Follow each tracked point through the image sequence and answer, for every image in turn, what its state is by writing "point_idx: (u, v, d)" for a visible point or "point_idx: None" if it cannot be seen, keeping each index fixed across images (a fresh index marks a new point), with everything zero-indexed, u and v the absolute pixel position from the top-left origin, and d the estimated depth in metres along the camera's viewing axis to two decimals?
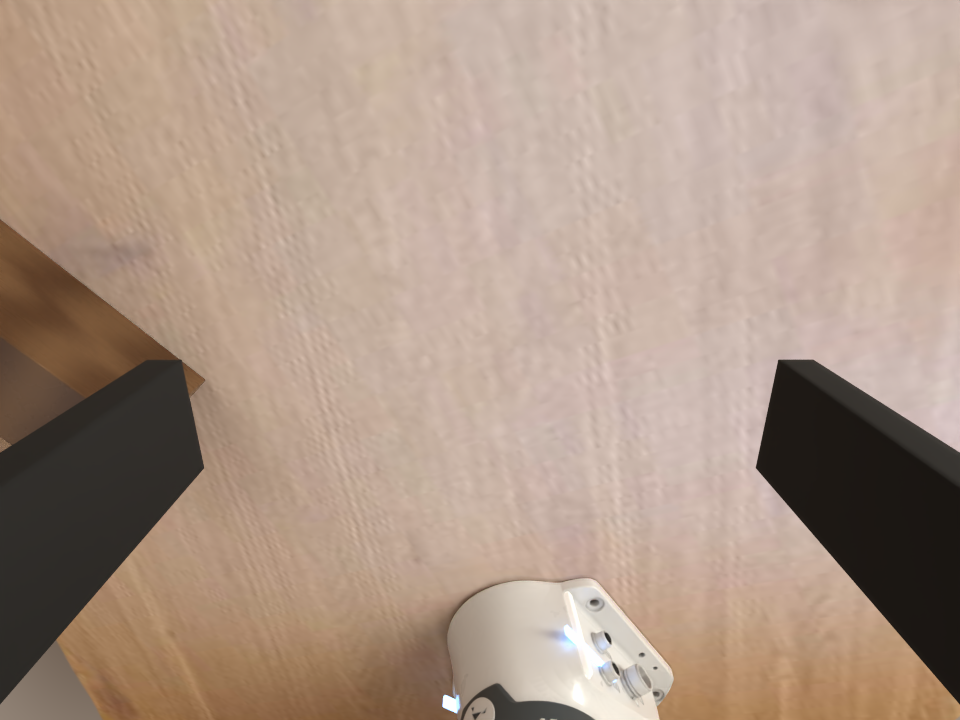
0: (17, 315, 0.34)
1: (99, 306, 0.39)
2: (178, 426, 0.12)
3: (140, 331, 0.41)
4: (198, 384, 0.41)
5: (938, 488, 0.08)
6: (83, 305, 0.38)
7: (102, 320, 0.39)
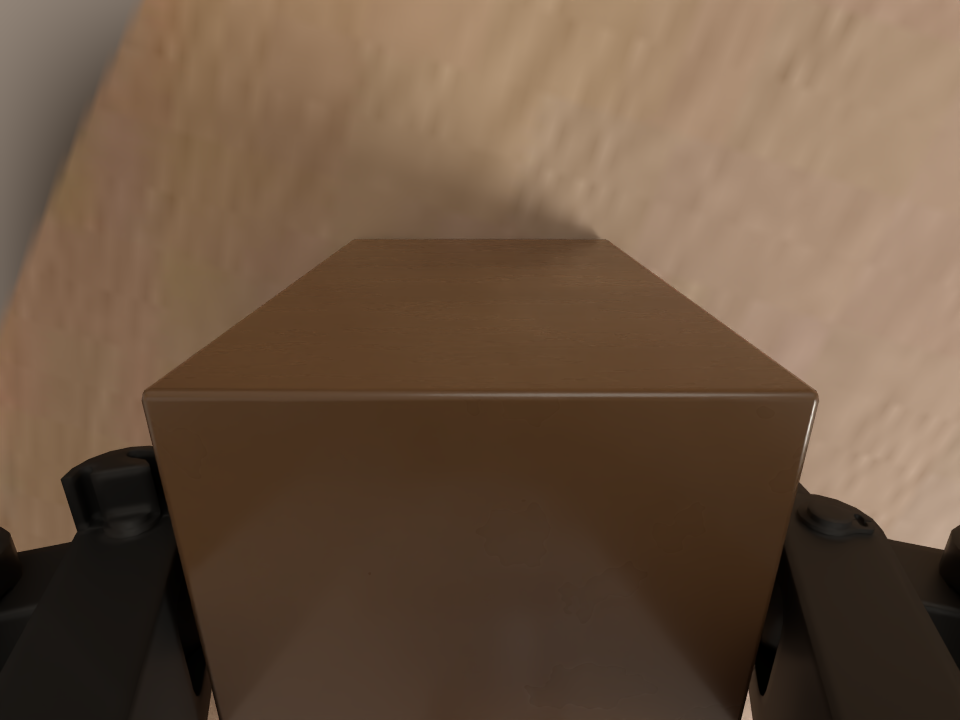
0: None
1: None
2: None
3: None
4: None
5: None
6: None
7: None
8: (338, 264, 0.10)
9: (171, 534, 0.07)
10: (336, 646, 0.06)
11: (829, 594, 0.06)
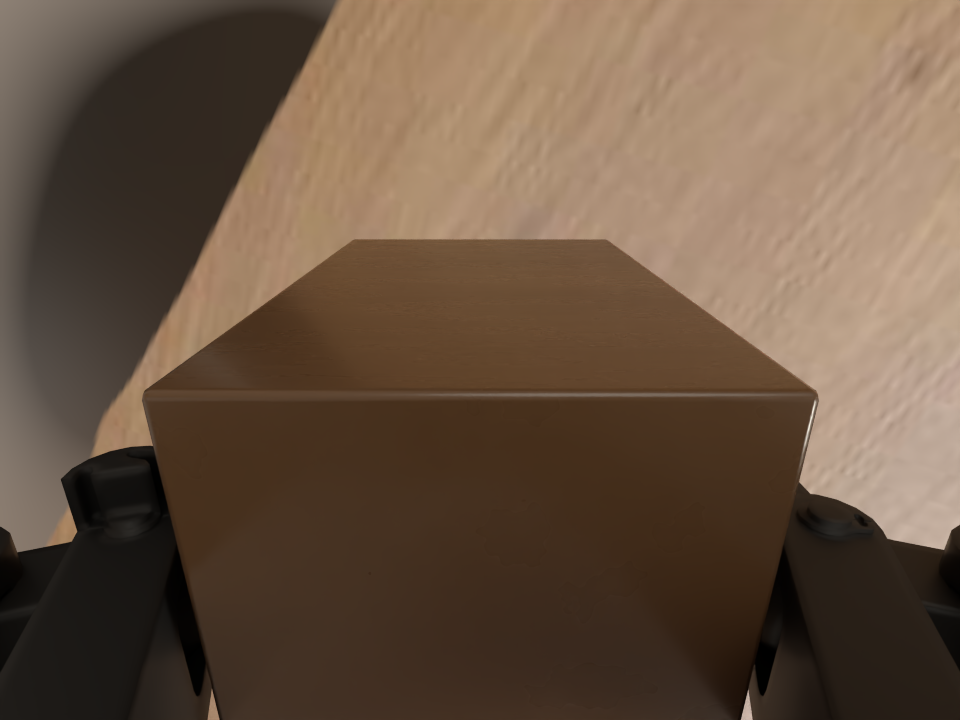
0: None
1: None
2: None
3: None
4: None
5: None
6: None
7: None
8: (338, 264, 0.10)
9: (171, 534, 0.07)
10: (337, 645, 0.06)
11: (829, 594, 0.06)
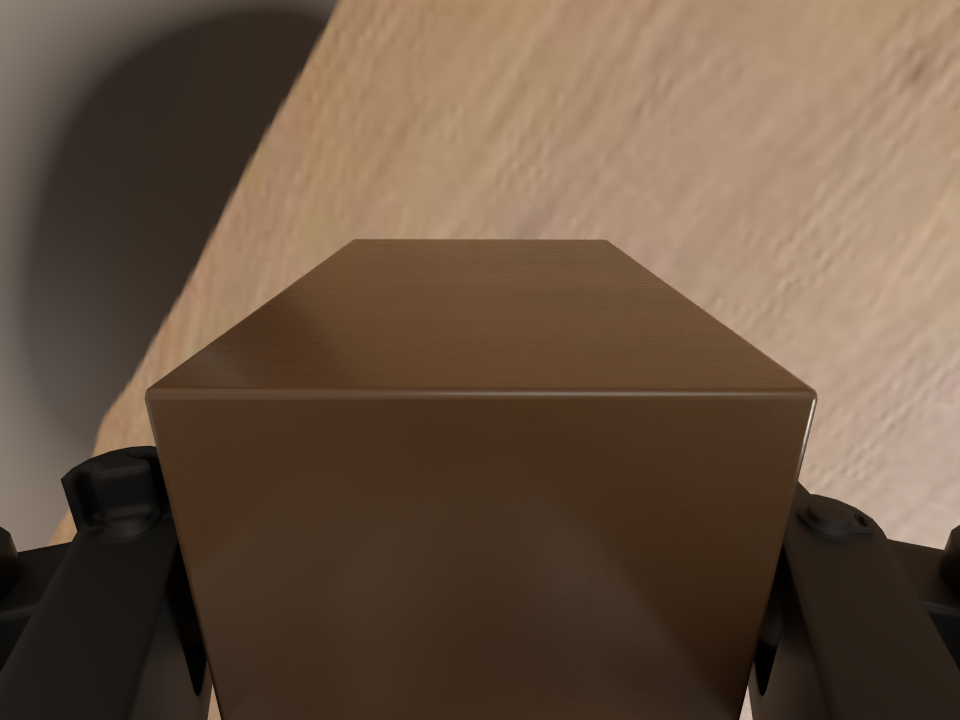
0: None
1: None
2: None
3: None
4: None
5: None
6: None
7: None
8: (339, 264, 0.10)
9: (171, 534, 0.07)
10: (338, 645, 0.06)
11: (829, 594, 0.06)
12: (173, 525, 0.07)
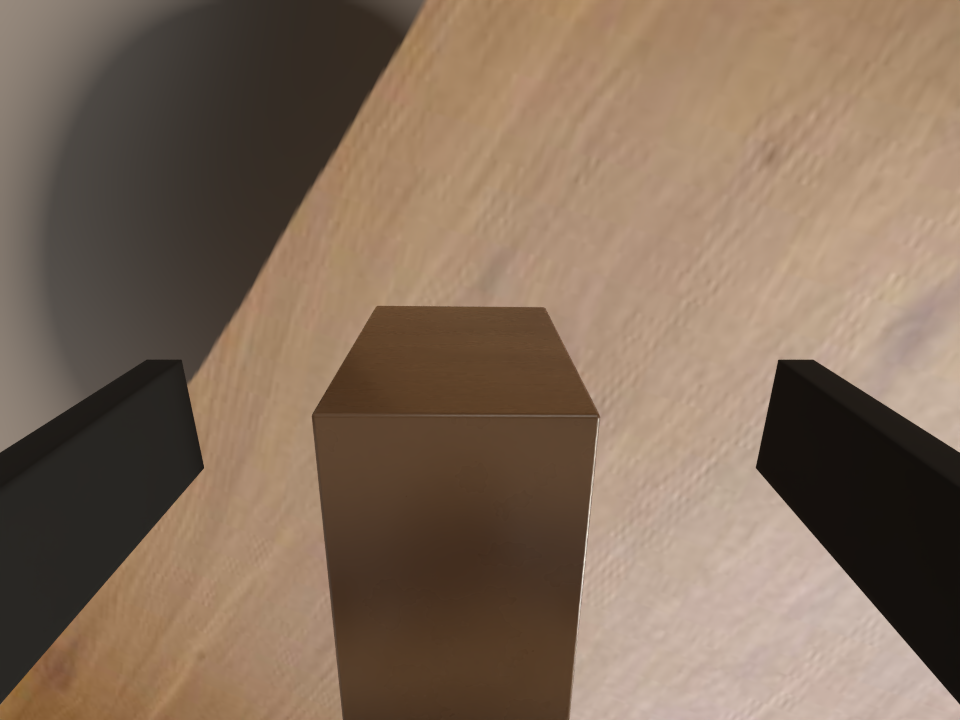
0: None
1: None
2: (178, 426, 0.12)
3: None
4: None
5: (938, 488, 0.08)
6: None
7: None
8: (374, 331, 0.17)
9: None
10: (389, 533, 0.13)
11: None
12: None
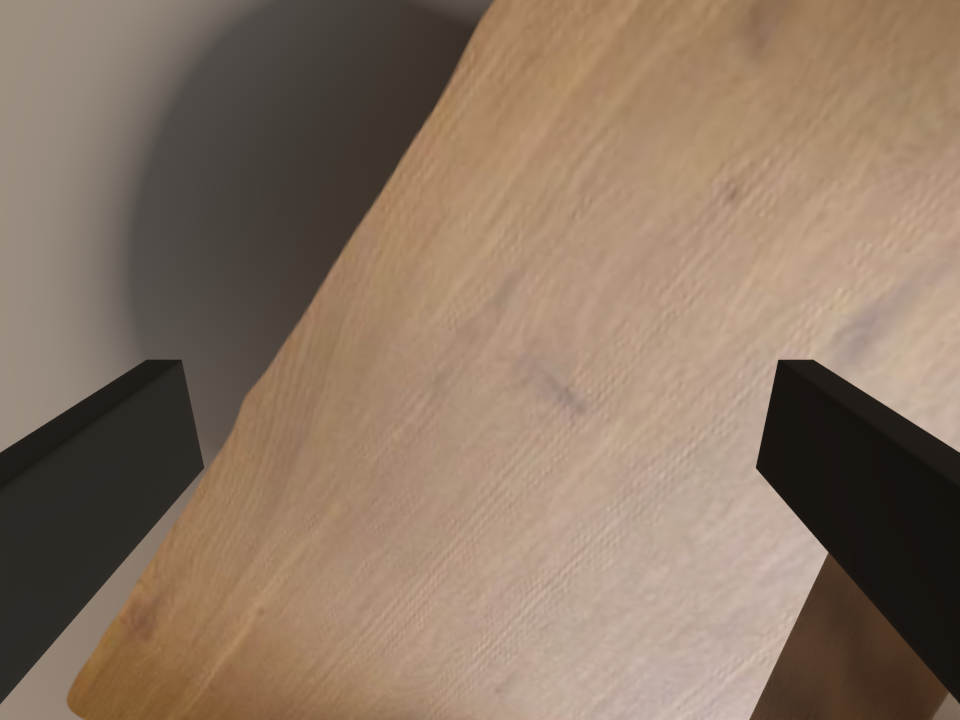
0: None
1: None
2: (178, 426, 0.12)
3: None
4: None
5: (938, 488, 0.08)
6: None
7: None
8: None
9: None
10: None
11: None
12: None
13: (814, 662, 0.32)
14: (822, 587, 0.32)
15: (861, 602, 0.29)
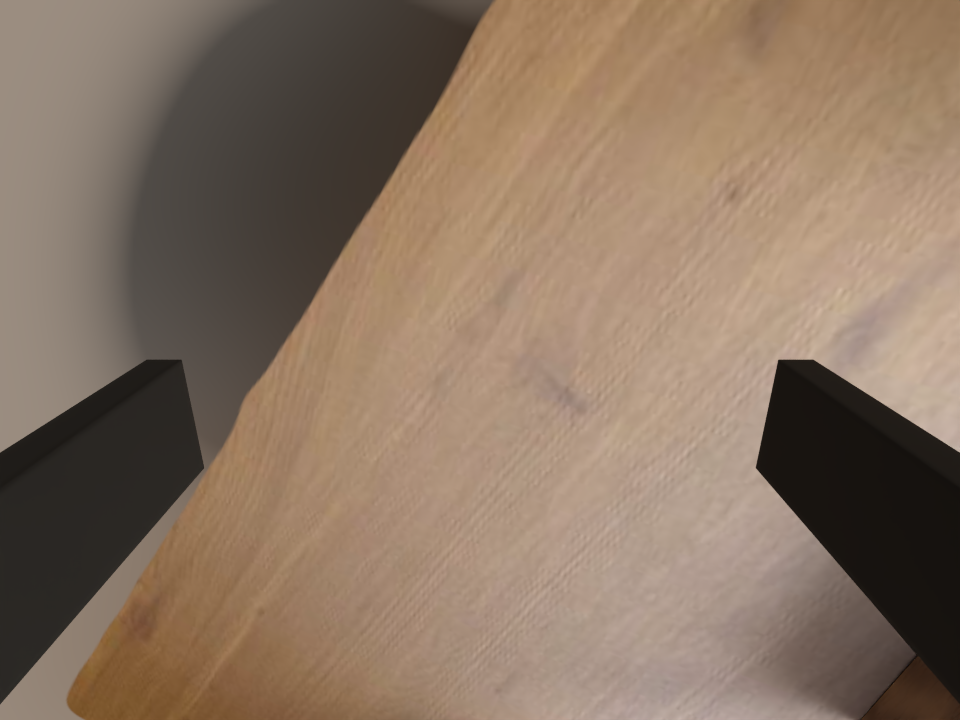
0: None
1: None
2: (178, 426, 0.12)
3: None
4: None
5: (938, 488, 0.08)
6: None
7: None
8: None
9: None
10: None
11: None
12: None
13: None
14: None
15: None
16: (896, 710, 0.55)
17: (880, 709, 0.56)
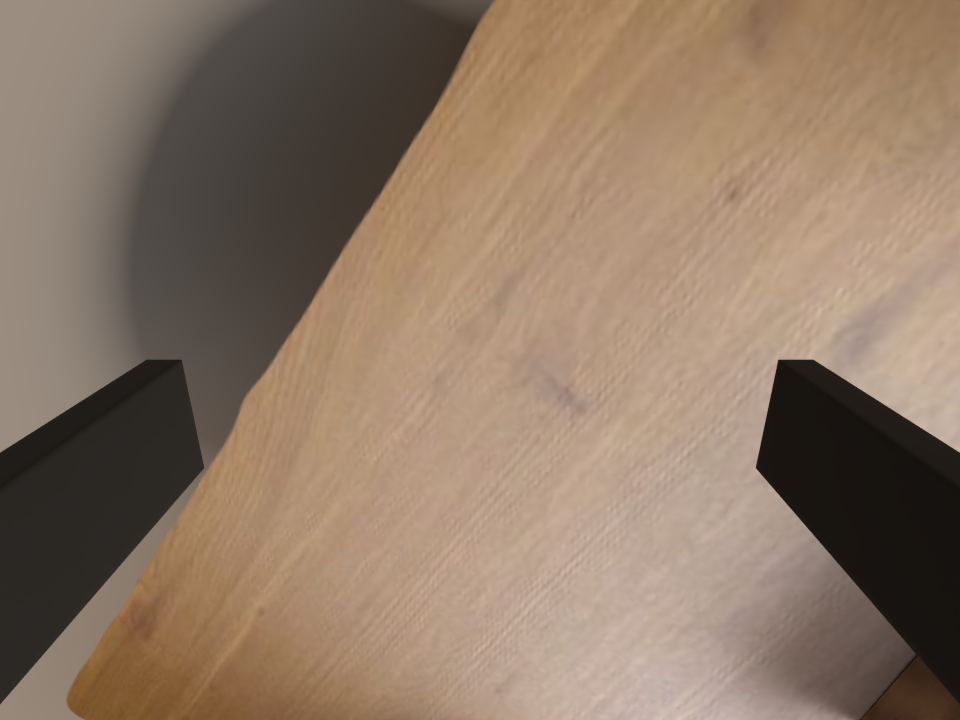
0: None
1: None
2: (178, 426, 0.12)
3: None
4: None
5: (938, 488, 0.08)
6: None
7: None
8: None
9: None
10: None
11: None
12: None
13: None
14: None
15: None
16: (896, 710, 0.55)
17: (880, 709, 0.56)
